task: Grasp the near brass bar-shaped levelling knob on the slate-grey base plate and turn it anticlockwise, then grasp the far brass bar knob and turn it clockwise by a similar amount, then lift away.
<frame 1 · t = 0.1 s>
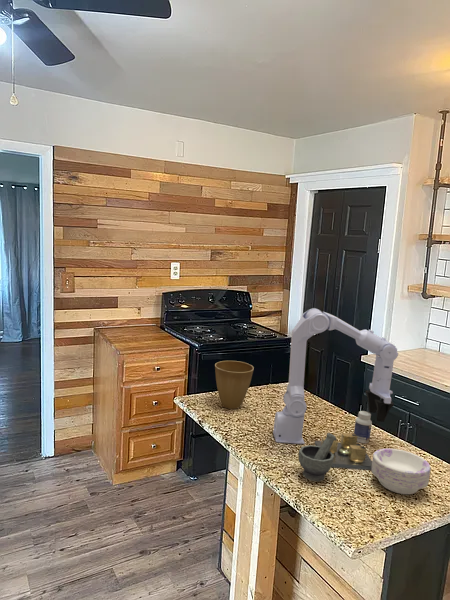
hand: (376, 416, 156), 10 cm above the counter, tool pointing down, fingers open, 7 cm apart
knob near: (357, 453, 142), point 3 cm above the counter, hinge at 0.0°
paper bowls: (397, 486, 132), on the counter
pill bottle: (361, 440, 160), on the counter
mortar and pestle: (315, 475, 133), on the counter
knob far: (348, 440, 150), point 3 cm above the counter, hinge at 0.0°
knob left: (329, 445, 146), point 3 cm above the counter, hinge at 0.0°
plant pot: (230, 406, 181), on the counter
base plate: (343, 456, 146), on the counter
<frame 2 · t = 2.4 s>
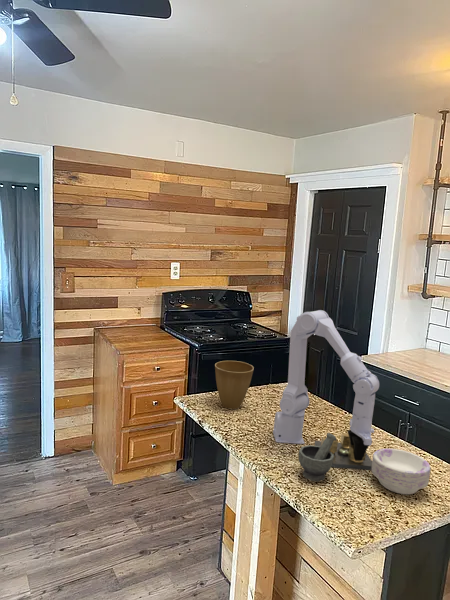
hand: (356, 457, 142), 2 cm above the counter, tool pointing down, fingers closed on knob near, 2 cm apart
knob near: (357, 453, 142), point 3 cm above the counter, hinge at 0.0°, touching gripper
everything else where it was.
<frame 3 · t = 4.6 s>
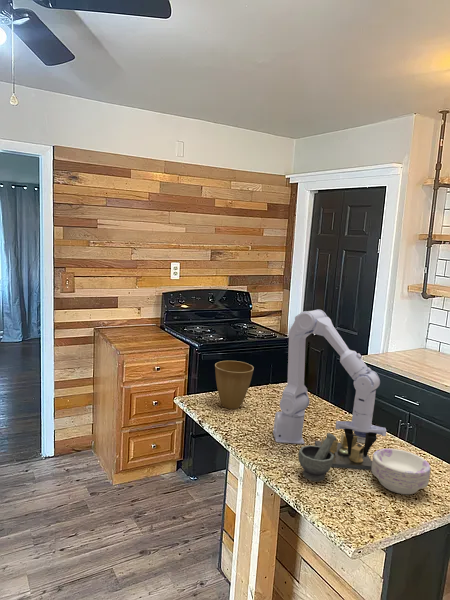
hand: (357, 454, 142), 3 cm above the counter, tool pointing down, fingers closed on knob near, 4 cm apart
knob near: (357, 453, 142), point 3 cm above the counter, hinge at 53.5°, touching gripper
everything else where it was.
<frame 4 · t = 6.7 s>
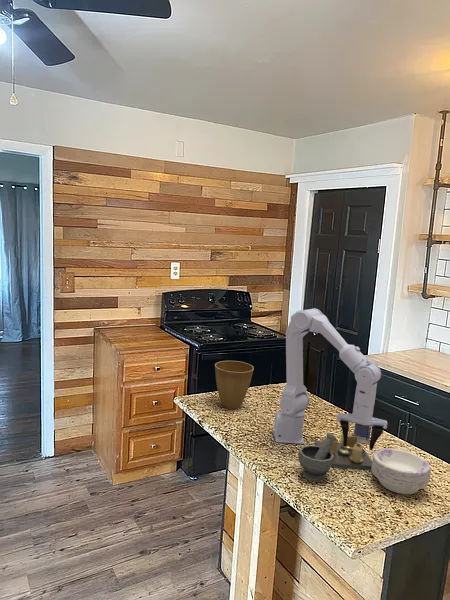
hand: (357, 446, 142), 6 cm above the counter, tool pointing down, fingers open, 7 cm apart
knob near: (357, 453, 142), point 3 cm above the counter, hinge at 63.7°
everything else where it was.
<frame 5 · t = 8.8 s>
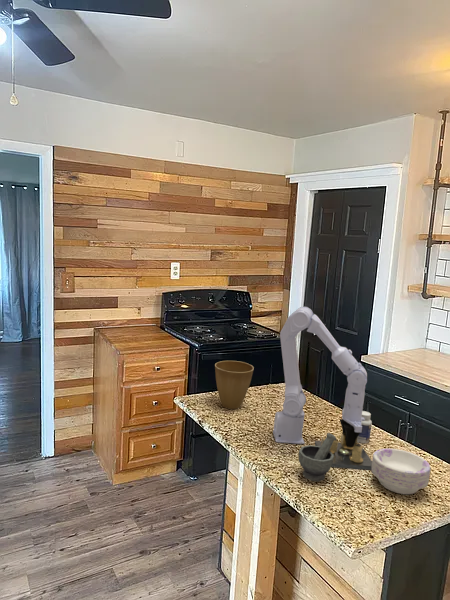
hand: (348, 444, 150), 2 cm above the counter, tool pointing down, fingers closed on knob far, 2 cm apart
knob near: (357, 453, 142), point 3 cm above the counter, hinge at 64.2°
knob far: (348, 440, 150), point 3 cm above the counter, hinge at 0.0°, touching gripper
everything else where it was.
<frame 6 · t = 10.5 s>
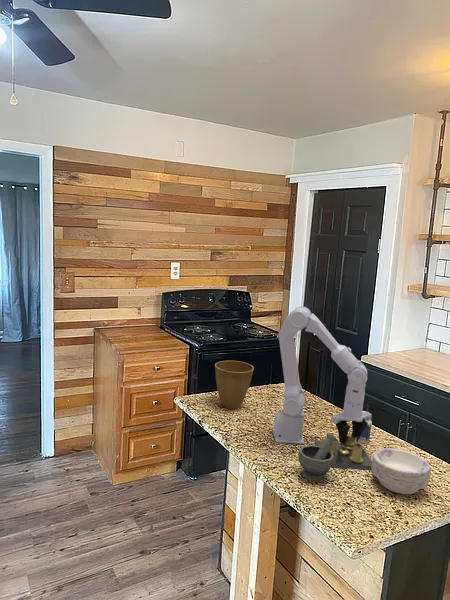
hand: (348, 442, 150), 3 cm above the counter, tool pointing down, fingers closed on knob far, 4 cm apart
knob far: (348, 440, 150), point 3 cm above the counter, hinge at -33.5°, touching gripper
everything else where it was.
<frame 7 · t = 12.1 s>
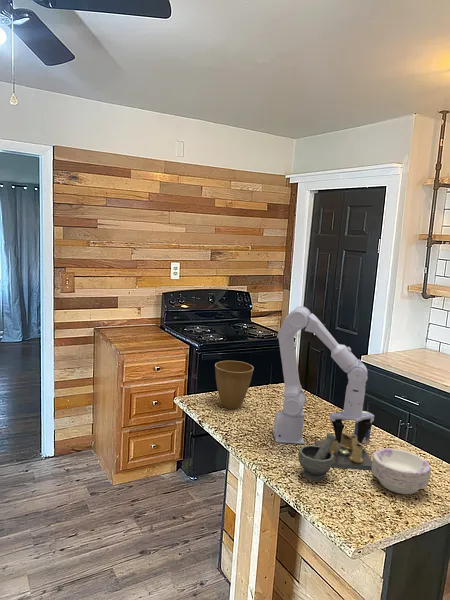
hand: (348, 441, 150), 3 cm above the counter, tool pointing down, fingers open, 7 cm apart
knob far: (348, 440, 150), point 3 cm above the counter, hinge at -56.6°
everything else where it was.
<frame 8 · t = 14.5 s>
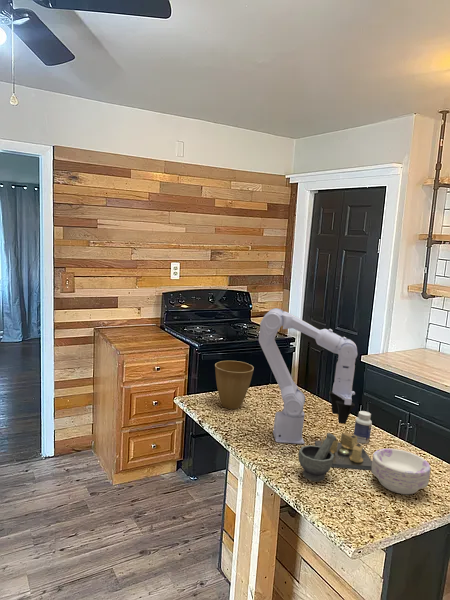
hand: (338, 418, 151), 10 cm above the counter, tool pointing down, fingers open, 7 cm apart
knob far: (348, 440, 150), point 3 cm above the counter, hinge at -57.0°
everything else where it was.
at the end: knob near at +64° (first picture: +0°); knob far at -57° (first picture: +0°); knob left at +0° (first picture: +0°) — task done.
